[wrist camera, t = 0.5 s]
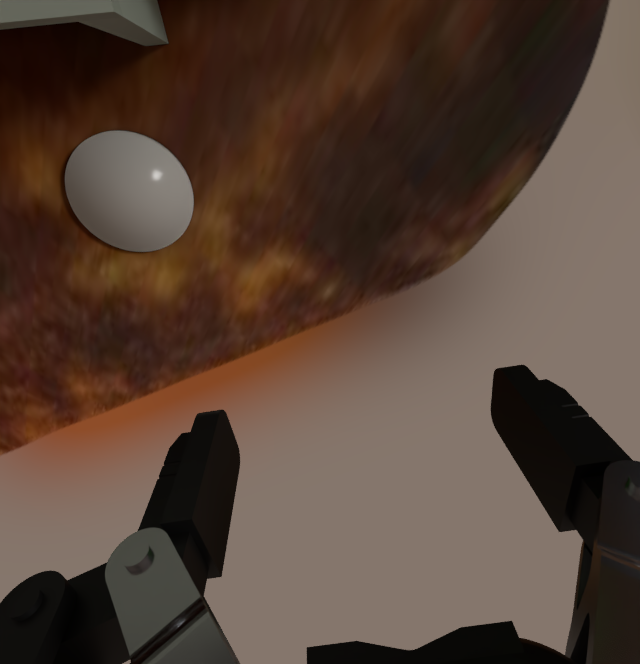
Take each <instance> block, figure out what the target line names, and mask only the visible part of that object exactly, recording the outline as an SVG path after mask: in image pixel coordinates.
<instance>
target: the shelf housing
mask: <svg viewBox="0 0 640 664" xmlns="http://www.w3.org/2000/svg"><path fill="white" fill-rule="evenodd" d="M70 22H80V23H83V24H86V25H88V26H91V27H94V28H97V29H99V30H102V31H105V32H108V33H110V34H113V35H116V36H119V37H121V38H124V39H127V40H130V41H132V42H135V43H138V44H141V45H143V46H152V45H161V44H169V43H168V40H167V36H166V32H165V28H164V24H163V20H162V17H161V13H160V9H159V5H158V1H157V0H0V30H1V29H11V28H21V27H31V26H41V25H51V24H60V23H70Z"/></svg>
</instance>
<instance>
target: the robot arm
mask: <svg viewBox="0 0 640 664" xmlns="http://www.w3.org/2000/svg"><path fill="white" fill-rule="evenodd" d="M491 416H492V421H493V424H494V426H495V428H496V430H497V432H498V434H499V435H500V437H501V439H502V440H503V442H504V443H505V445H506V447H507V448H508V450H509V451H510V453H511V455H512V456H513V458H514V460H515V461H516V463H517V464H518V466H519V468H520V469H521V471H522V473H523V474H524V476H525V477H526V479H527V481H528V482H529V484H530V486H531V487H532V489H533V490H534V492H535V494H536V495H537V497H538V498H539V500H540V501H541V503H542V505H543V507H544V508H545V510H546V511H547V513H548V515H549V516H550V518H551V519H552V521H553V523H554V524H555V526H556V528H557V529H558V531H559V532H563V531H571V530H577V531H578V533H579V534H580V536H581V537H582V539H583V543H582V547H581V554H580V562H579V569H578V577H577V585H576V593H575V601H574V609H573V616H572V623H571V628H570V632H569V636H568V641H567V646H566V652H565V655H563V654H561V653H560V652H558V651H556V650H554V649H552V648H550V647H547V646H545V645H543V644H540V643H537V642H534V641H530V640H527V639H523V638H519V637H518V634H517V632H516V630H515V627H514V625H513V622H512V621H508V622H500V623H492V624H485V625H477V626H469V627H461V628H459V629H457V630H455V631H453V632H451V633H449V634H446V635H445V636H443V637H440V638H438V639H436V640H434V641H432V642H430V643H428V644H426V645H424V646H422V647H420V648H418V649H415V650H402V649H397V648H391V647H385V646H381V645H375V644H370V643H364V642H359V641H354V642H346V643H338V644H330V645H322V646H314V647H307V664H640V462H638V461H633V460H632V459H631V458H630V457H629V456H628V455H627V454H626V453H625V452H624V451H623V450H622V449H621V448H620V447H619V446H618V445H617V443H616V442H615V441H614V440H613V439H612V438H611V437H610V436H609V435H608V434H607V433H606V432H605V431H604V430H603V429H602V428H601V427H600V426H599V425H598V424H597V422H596V421H595V420H594V419H593V418H592V417H589V415H588V413H587V412H586V411H585V410H584V409H583V408H582V407H581V406H579V405H578V403H577V401H576V400H575V399H574V398H573V397H572V396H570V394H569V393H568V392H567V391H566V390H565V389H563V388H561V387H559V386H558V385H556V384H554V383H553V382H551V381H549V380H547V379H545V380H538V379H537V378H536V376H535V375H534V374H533V373H532V372H531V371H530V370H529V369H528V367H526V366H525V365H517V366H511V367H504V368H498V369H496V370H495V371H494V377H493V388H492V400H491ZM239 468H240V454H239V448H238V445H237V442H236V439H235V436H234V433H233V431H232V428H231V425H230V422H229V420H228V417H227V414H226V412H225V411H224V410H217V411H210V412H203V413H199V414H197V416H196V418H195V420H194V423H193V426H192V429H191V432H188V433H182V434H181V435H180V436H179V437H178V438H177V440H176V441H175V442H174V443H173V445H172V446H171V447H170V448H169V451H168V454H167V456H166V459H165V461H164V466H163V467H162V469H161V472H160V475H159V479H158V480H157V482H156V485H155V488H154V490H153V493H152V495H151V498H150V501H149V503H148V506H147V509H146V511H145V514H144V516H143V519H142V522H141V524H140V527H139V529H138V531H137V532H135V533H133V534H132V535H130V536H129V537H127V538H126V539H125V540H124V541H123V542H122V543H120V544H119V546H118V547H117V548H116V549H115V550H114V552H113V553H112V554H111V557H110V558H109V560H108V562H107V563H105V564H103V565H101V566H99V567H97V568H94V569H92V570H90V571H87V572H85V573H83V574H81V575H79V576H76V577H74V578H72V579H70V580H66V579H65V578H64V577H63V576H62V575H61V574H60V573H58V572H56V571H44V572H41V573H38V574H35V575H33V576H31V577H29V578H28V579H26V580H25V581H23V582H22V583H20V584H19V585H18V586H16V587H15V588H14V589H13V590H12V591H11V592H10V593H9V594H8V595H7V596H6V597H5V598H4V599H3V601H2V602H1V603H0V664H122V663H124V662H126V661H128V660H130V659H131V663H130V664H240V663H239V661H238V659H237V657H236V655H235V653H234V652H233V650H232V648H231V646H230V644H229V642H228V640H227V638H226V637H225V635H224V633H223V631H222V629H221V627H220V625H219V624H218V622H217V620H216V618H215V616H214V614H213V612H212V611H211V609H210V607H209V605H208V603H207V601H206V600H205V598H204V591H205V585H206V581H207V579H209V578H216V577H221V576H222V570H223V564H224V558H225V552H226V545H227V540H228V534H229V527H230V522H231V516H232V510H233V504H234V497H235V492H236V486H237V480H238V474H239Z"/></svg>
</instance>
